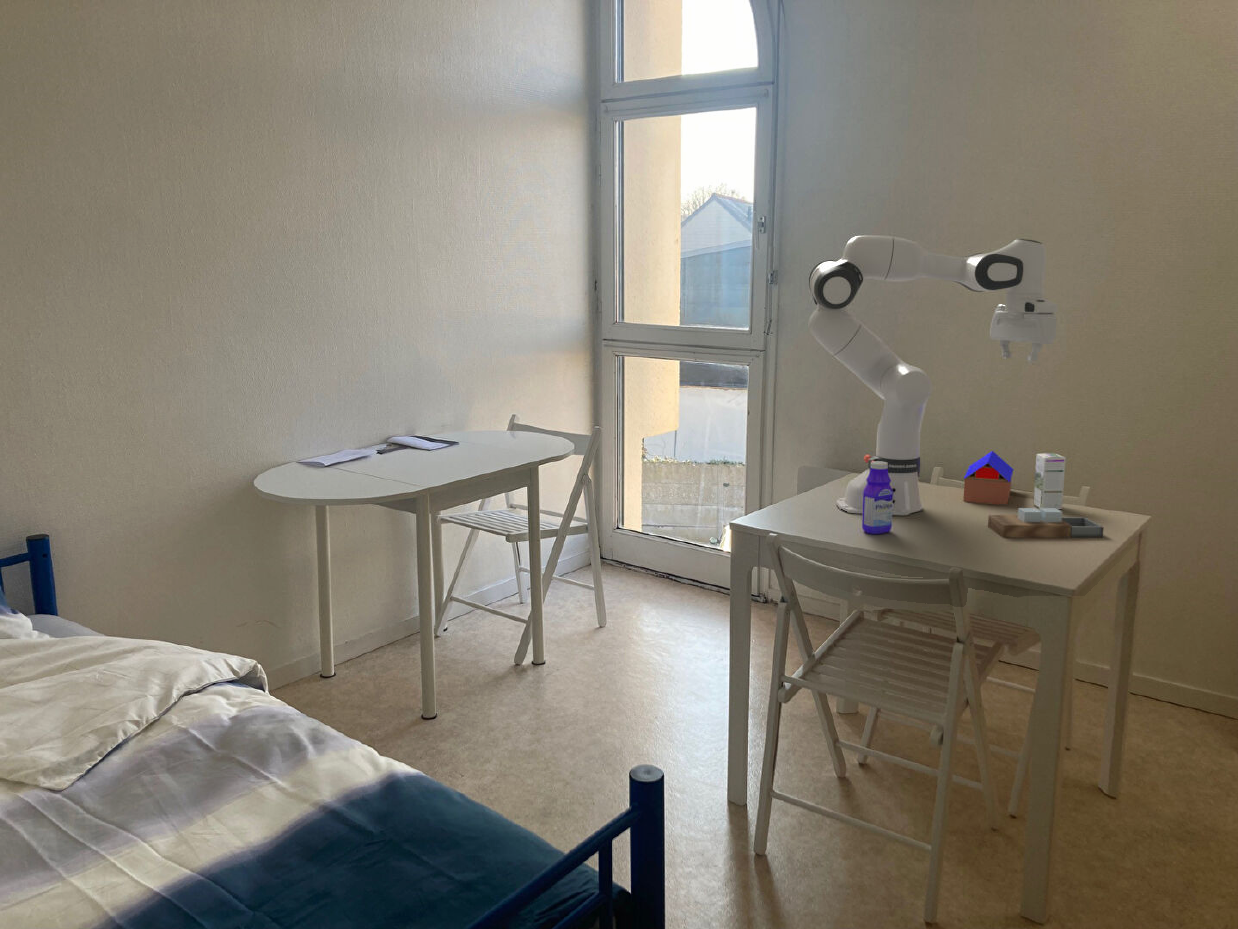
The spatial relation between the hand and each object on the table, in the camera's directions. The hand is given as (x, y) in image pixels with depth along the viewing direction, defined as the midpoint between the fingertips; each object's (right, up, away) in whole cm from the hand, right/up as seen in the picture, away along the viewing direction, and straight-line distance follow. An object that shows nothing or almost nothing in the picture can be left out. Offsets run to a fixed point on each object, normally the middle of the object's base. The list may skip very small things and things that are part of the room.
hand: (1019, 359), depth 243 cm
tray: (+10, -43, -11) cm, 46 cm away
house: (+3, -36, +28) cm, 46 cm away
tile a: (+3, -40, -11) cm, 42 cm away
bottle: (-39, -44, -10) cm, 59 cm away
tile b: (-2, -40, -11) cm, 42 cm away
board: (-2, -43, -11) cm, 45 cm away
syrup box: (+13, -39, +14) cm, 43 cm away
